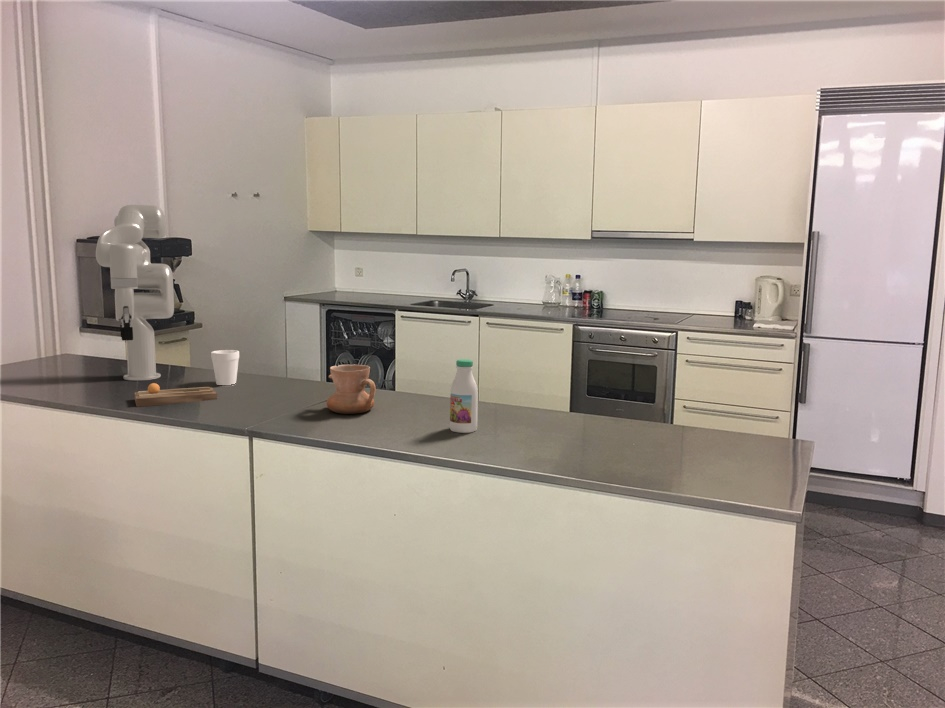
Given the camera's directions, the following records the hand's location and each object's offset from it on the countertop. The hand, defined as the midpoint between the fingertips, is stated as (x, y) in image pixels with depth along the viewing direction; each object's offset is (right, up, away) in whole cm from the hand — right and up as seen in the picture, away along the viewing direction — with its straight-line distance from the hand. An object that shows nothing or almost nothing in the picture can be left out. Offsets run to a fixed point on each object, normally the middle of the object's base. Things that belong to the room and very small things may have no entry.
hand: (126, 338), depth 228 cm
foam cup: (+20, -17, +33) cm, 42 cm away
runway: (+12, -20, +9) cm, 25 cm away
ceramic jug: (+71, -23, -4) cm, 75 cm away
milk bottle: (+106, -27, -24) cm, 112 cm away
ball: (+6, -16, +6) cm, 18 cm away
